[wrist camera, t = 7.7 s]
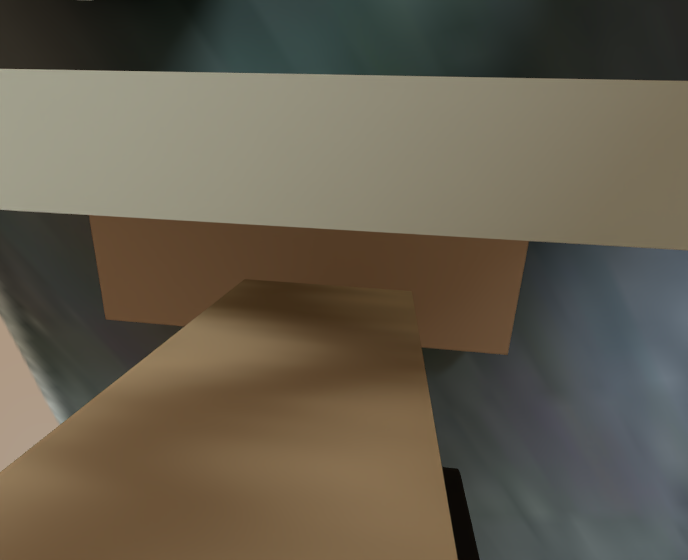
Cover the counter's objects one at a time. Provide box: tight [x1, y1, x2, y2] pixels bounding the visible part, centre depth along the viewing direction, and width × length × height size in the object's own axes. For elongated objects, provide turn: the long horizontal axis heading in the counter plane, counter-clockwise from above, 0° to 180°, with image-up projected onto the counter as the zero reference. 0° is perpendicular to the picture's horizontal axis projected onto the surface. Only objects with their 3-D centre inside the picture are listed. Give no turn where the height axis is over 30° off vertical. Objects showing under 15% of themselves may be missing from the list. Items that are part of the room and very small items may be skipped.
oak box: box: [0, 279, 458, 560], centre depth 8 cm, size 5×10×9 cm, turn 177°
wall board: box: [0, 69, 688, 355], centre depth 12 cm, size 20×8×12 cm, turn 88°
